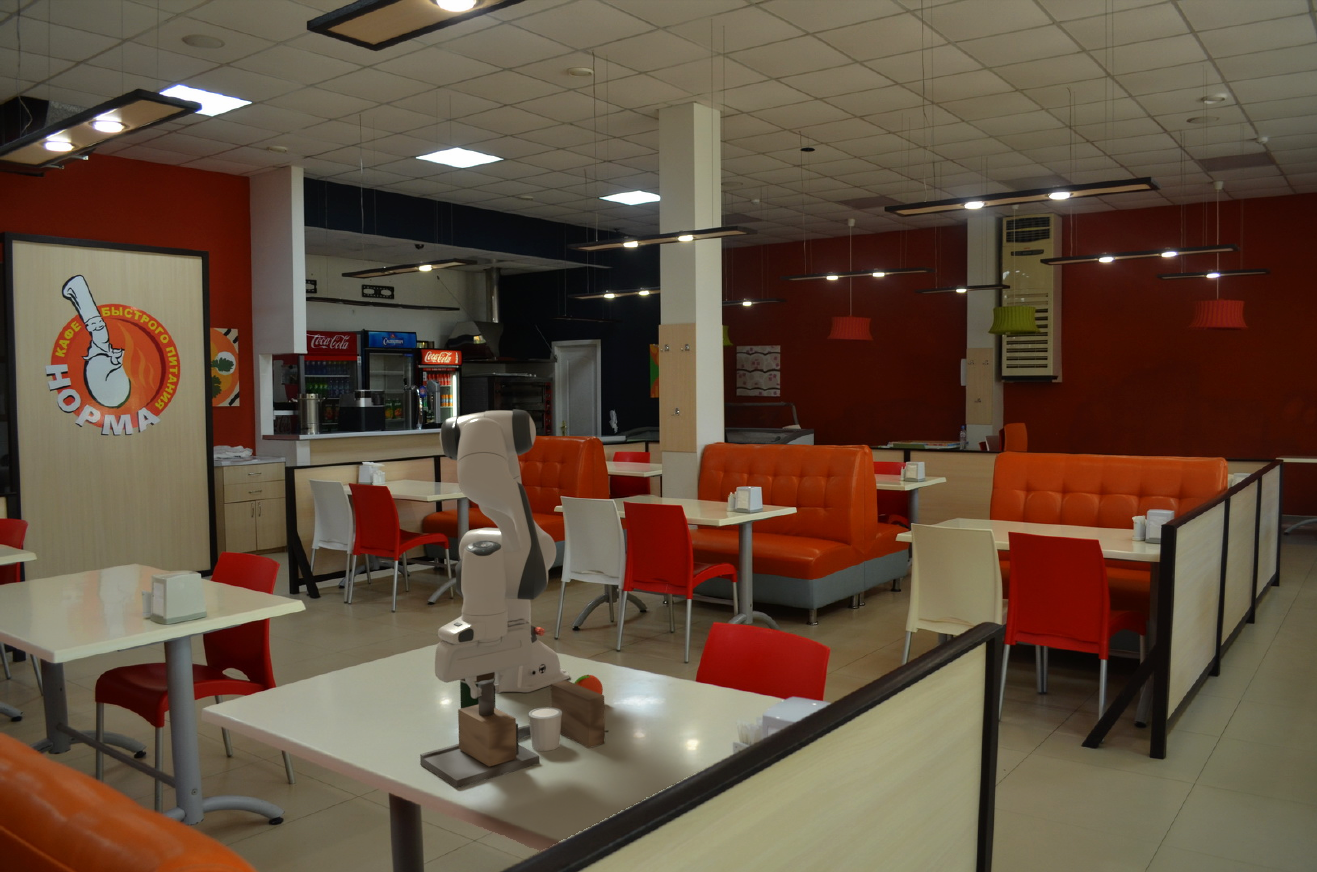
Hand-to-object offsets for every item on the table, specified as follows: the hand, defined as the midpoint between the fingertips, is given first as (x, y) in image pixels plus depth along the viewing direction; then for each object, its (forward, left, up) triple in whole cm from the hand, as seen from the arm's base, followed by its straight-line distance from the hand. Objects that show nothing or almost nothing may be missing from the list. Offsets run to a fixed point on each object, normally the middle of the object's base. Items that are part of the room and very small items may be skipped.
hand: (486, 694), depth 186 cm
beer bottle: (-9, -19, -14) cm, 25 cm away
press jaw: (0, 0, -12) cm, 12 cm away
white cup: (-14, 0, -14) cm, 19 cm away
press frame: (-7, 0, -14) cm, 15 cm away
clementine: (-35, -15, -14) cm, 40 cm away
